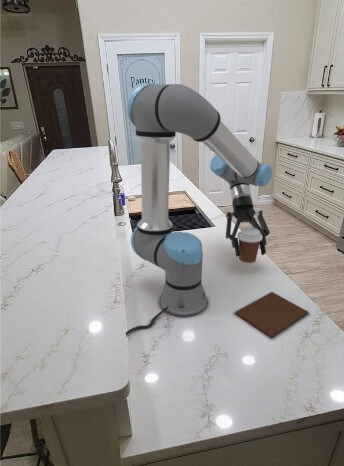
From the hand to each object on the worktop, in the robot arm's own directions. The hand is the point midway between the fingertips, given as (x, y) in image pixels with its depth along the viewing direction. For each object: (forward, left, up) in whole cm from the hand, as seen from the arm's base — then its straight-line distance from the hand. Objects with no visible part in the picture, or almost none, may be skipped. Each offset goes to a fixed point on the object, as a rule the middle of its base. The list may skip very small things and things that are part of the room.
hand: (251, 254), depth 120 cm
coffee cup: (+2, +3, -4) cm, 5 cm away
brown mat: (-12, -20, -9) cm, 25 cm away
